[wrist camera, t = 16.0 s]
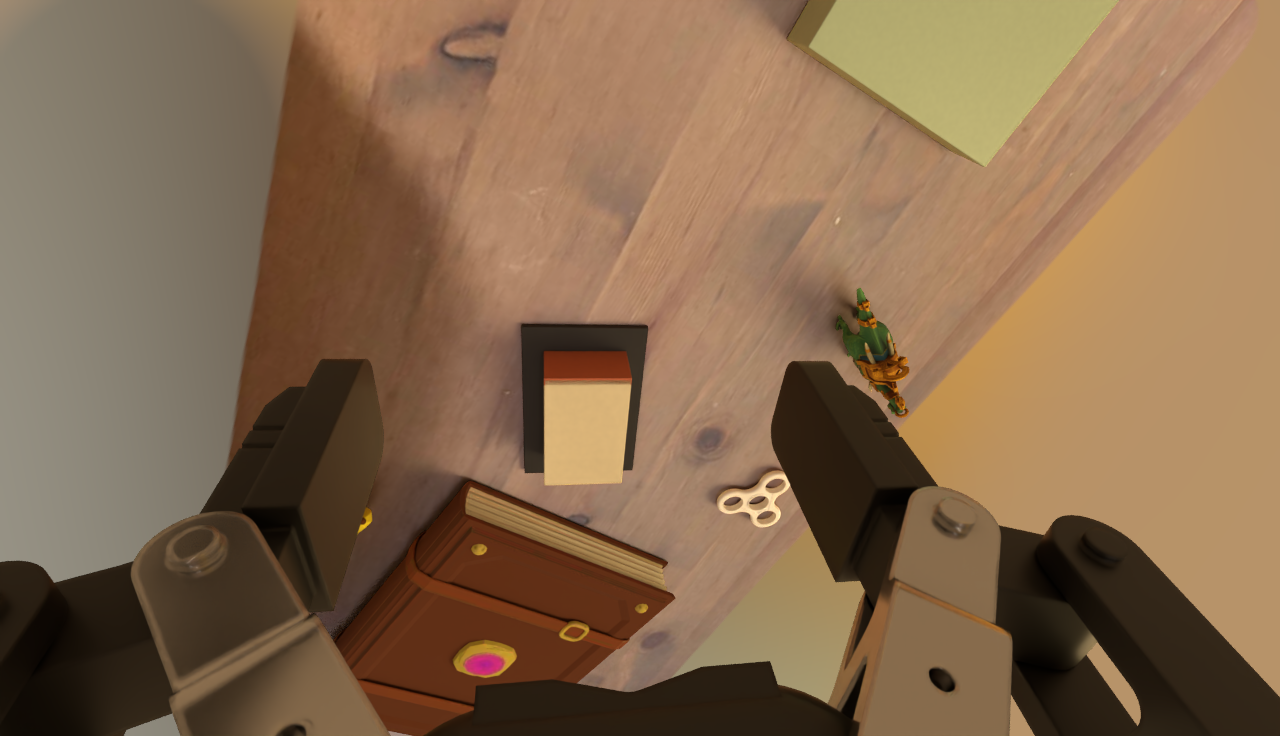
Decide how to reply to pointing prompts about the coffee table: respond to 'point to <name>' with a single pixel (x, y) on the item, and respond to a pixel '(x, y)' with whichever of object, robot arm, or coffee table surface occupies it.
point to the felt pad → (575, 340)
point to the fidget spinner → (752, 493)
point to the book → (495, 609)
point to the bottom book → (951, 59)
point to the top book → (585, 416)
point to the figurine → (876, 355)
